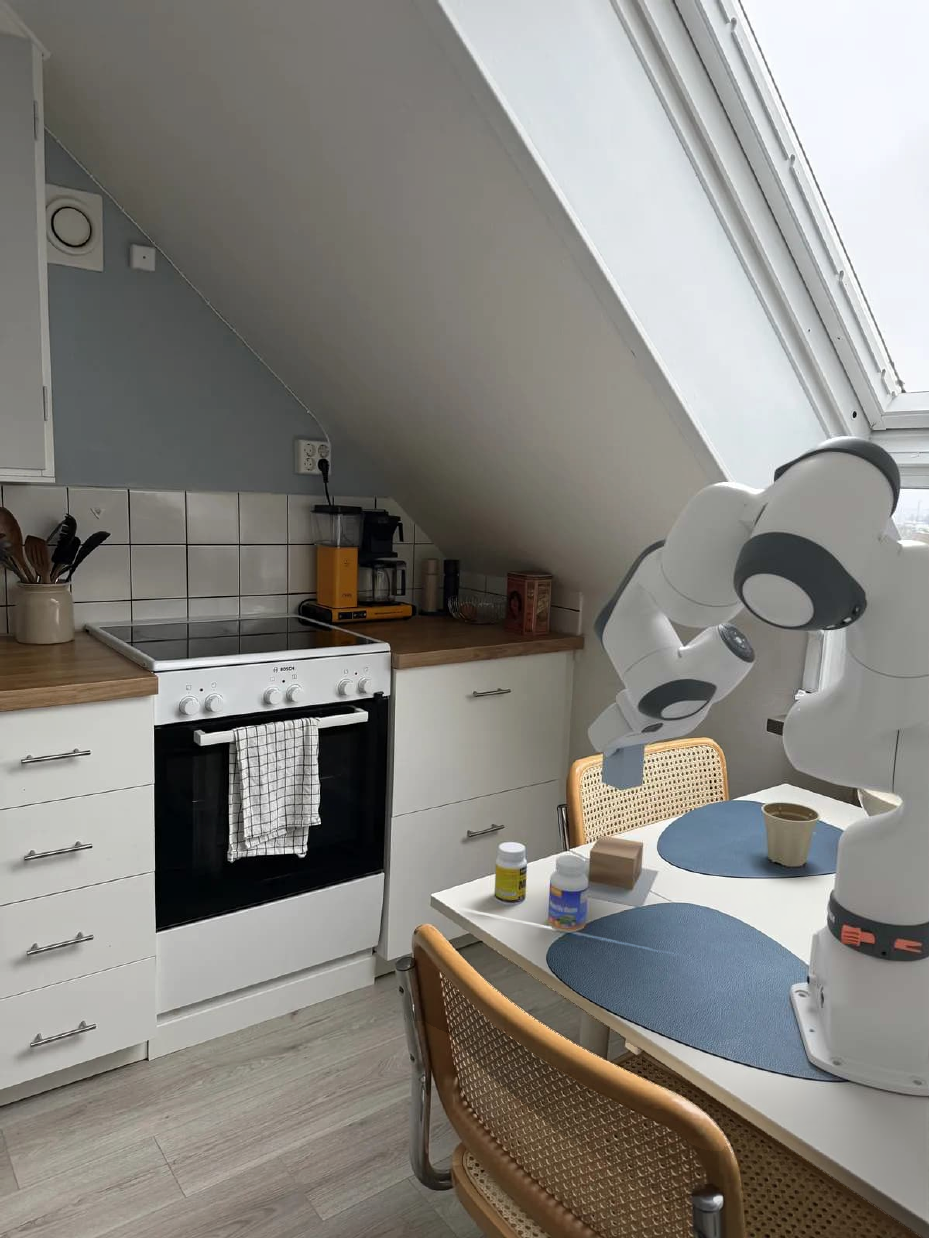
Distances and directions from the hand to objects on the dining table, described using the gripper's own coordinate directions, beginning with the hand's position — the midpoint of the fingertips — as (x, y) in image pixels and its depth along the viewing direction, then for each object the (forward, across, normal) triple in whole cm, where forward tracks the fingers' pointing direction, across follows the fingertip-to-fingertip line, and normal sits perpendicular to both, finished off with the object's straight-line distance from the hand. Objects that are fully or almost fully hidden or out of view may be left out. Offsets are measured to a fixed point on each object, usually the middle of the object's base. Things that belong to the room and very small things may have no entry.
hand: (620, 749), depth 145 cm
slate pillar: (+3, 0, +4) cm, 5 cm away
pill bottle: (+10, +17, +21) cm, 28 cm away
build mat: (+14, +2, +16) cm, 21 cm away
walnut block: (+14, 0, +15) cm, 21 cm away
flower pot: (+8, -30, +22) cm, 38 cm away
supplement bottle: (+17, +19, +13) cm, 29 cm away
